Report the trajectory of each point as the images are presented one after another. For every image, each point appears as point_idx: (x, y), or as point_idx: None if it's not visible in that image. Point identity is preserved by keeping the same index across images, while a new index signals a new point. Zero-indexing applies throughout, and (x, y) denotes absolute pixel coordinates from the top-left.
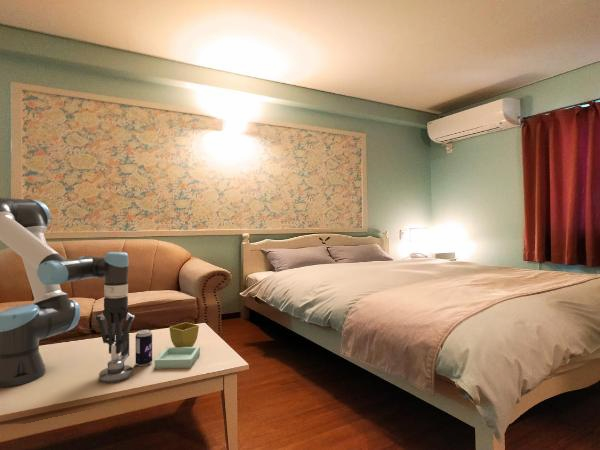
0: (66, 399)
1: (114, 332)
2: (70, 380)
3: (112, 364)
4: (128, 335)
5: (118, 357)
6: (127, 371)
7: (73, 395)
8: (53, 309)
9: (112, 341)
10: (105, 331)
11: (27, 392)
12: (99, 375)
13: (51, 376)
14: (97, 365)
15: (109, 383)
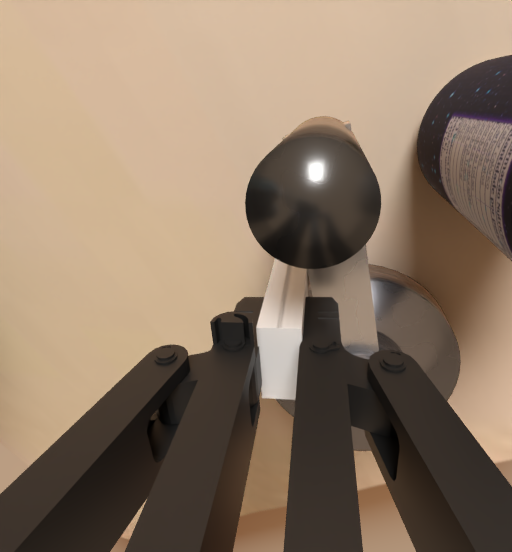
0: (247, 504)
1: (233, 454)
2: (134, 359)
3: (354, 445)
4: (376, 217)
5: (313, 276)
6: (437, 381)
7: (252, 483)
8: None
9: (251, 397)
10: (117, 505)
11: (56, 437)
12: (285, 408)
13: (6, 309)
14: (130, 164)
15: None
